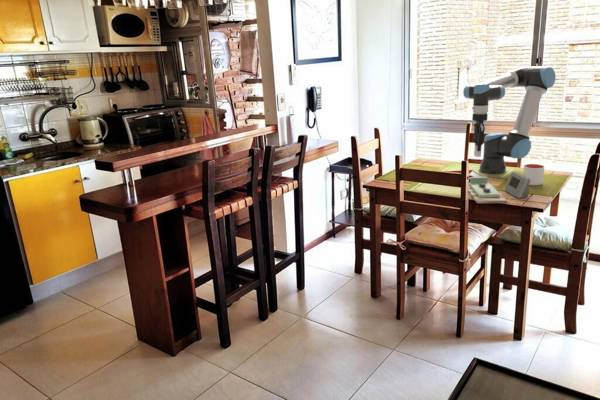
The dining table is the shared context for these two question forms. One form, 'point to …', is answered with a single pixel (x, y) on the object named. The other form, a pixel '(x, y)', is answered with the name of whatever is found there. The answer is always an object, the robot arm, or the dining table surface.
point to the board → (486, 199)
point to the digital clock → (517, 185)
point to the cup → (534, 173)
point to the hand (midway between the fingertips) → (477, 155)
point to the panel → (479, 191)
